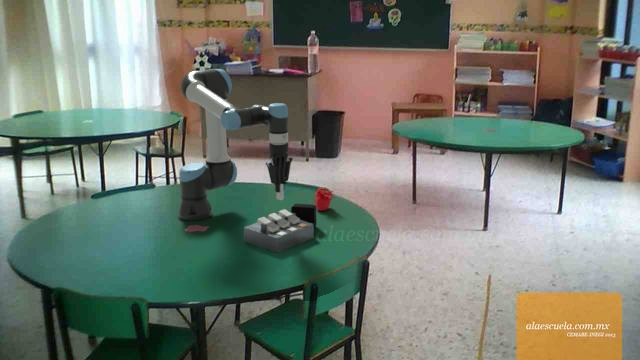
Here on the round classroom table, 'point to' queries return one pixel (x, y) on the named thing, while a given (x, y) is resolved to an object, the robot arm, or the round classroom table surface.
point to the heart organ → (323, 199)
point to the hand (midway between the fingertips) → (280, 199)
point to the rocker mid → (279, 220)
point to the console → (279, 235)
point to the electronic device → (305, 212)
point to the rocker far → (289, 216)
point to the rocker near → (268, 224)
